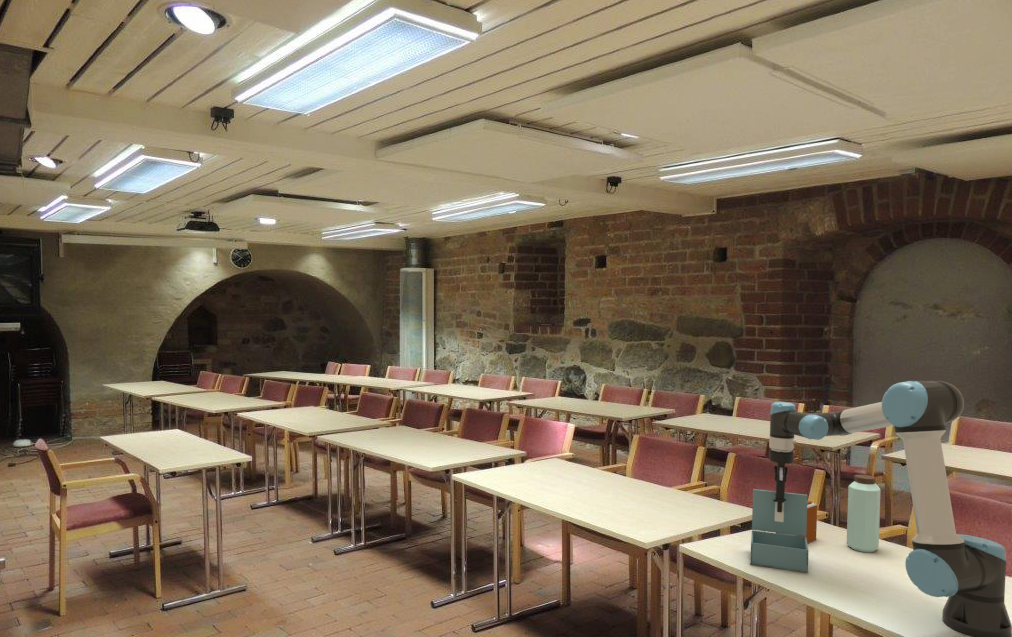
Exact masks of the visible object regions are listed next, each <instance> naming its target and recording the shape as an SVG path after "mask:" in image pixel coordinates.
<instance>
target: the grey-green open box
mask: <svg viewBox="0 0 1012 637" xmlns="http://www.w3.org/2000/svg"><path fill="white" fill-rule="evenodd" d="M750 537H751V539H750V565H751V566H756V567H757V566H758V567H765V568H772V569H780V570H786V571H793V572H799V573H809V546H808V544H807V539H806V537H801V536H793V535H785V534H777V533H774V532H766V531H758V530H752V529H751V536H750Z"/></svg>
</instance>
